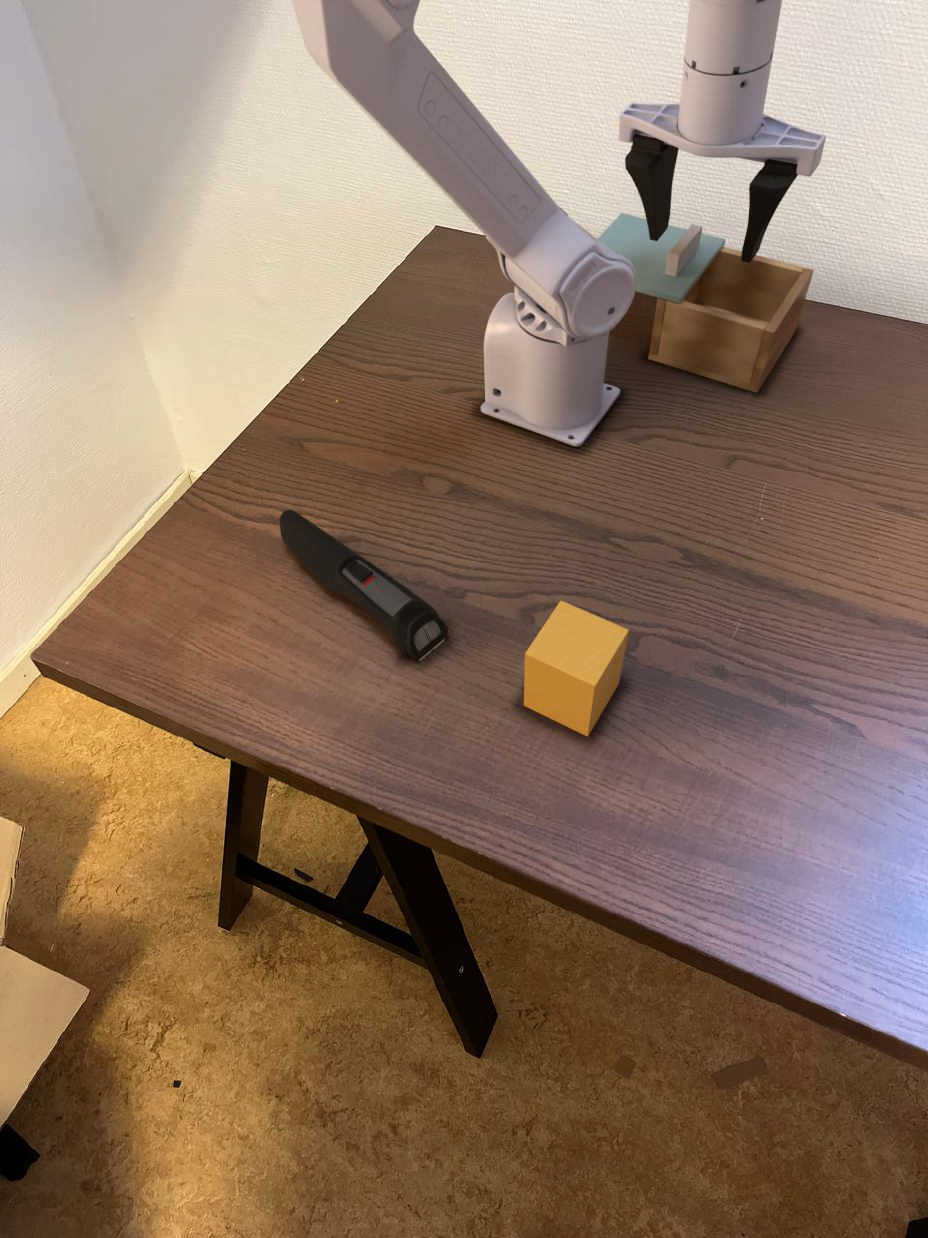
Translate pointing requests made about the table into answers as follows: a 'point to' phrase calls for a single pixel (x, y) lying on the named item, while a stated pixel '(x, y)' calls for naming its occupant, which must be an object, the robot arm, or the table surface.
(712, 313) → the box
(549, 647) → the block
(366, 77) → the robot arm
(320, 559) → the electric trimmer
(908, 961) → the table surface
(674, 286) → the teal lid
